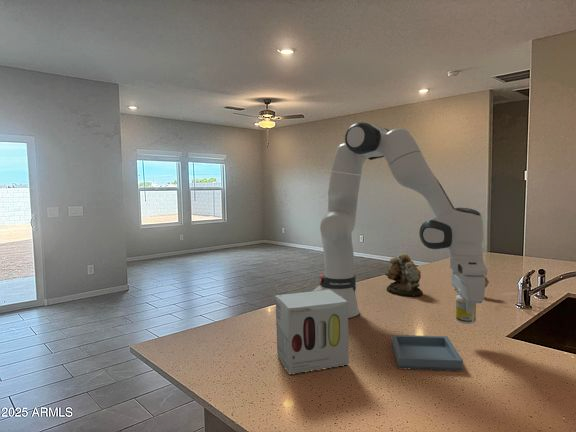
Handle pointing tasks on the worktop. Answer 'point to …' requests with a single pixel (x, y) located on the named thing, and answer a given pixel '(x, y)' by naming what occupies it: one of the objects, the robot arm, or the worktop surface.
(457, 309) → the supplement bottle
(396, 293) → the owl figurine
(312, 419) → the worktop surface
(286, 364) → the supplement box
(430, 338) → the tray
